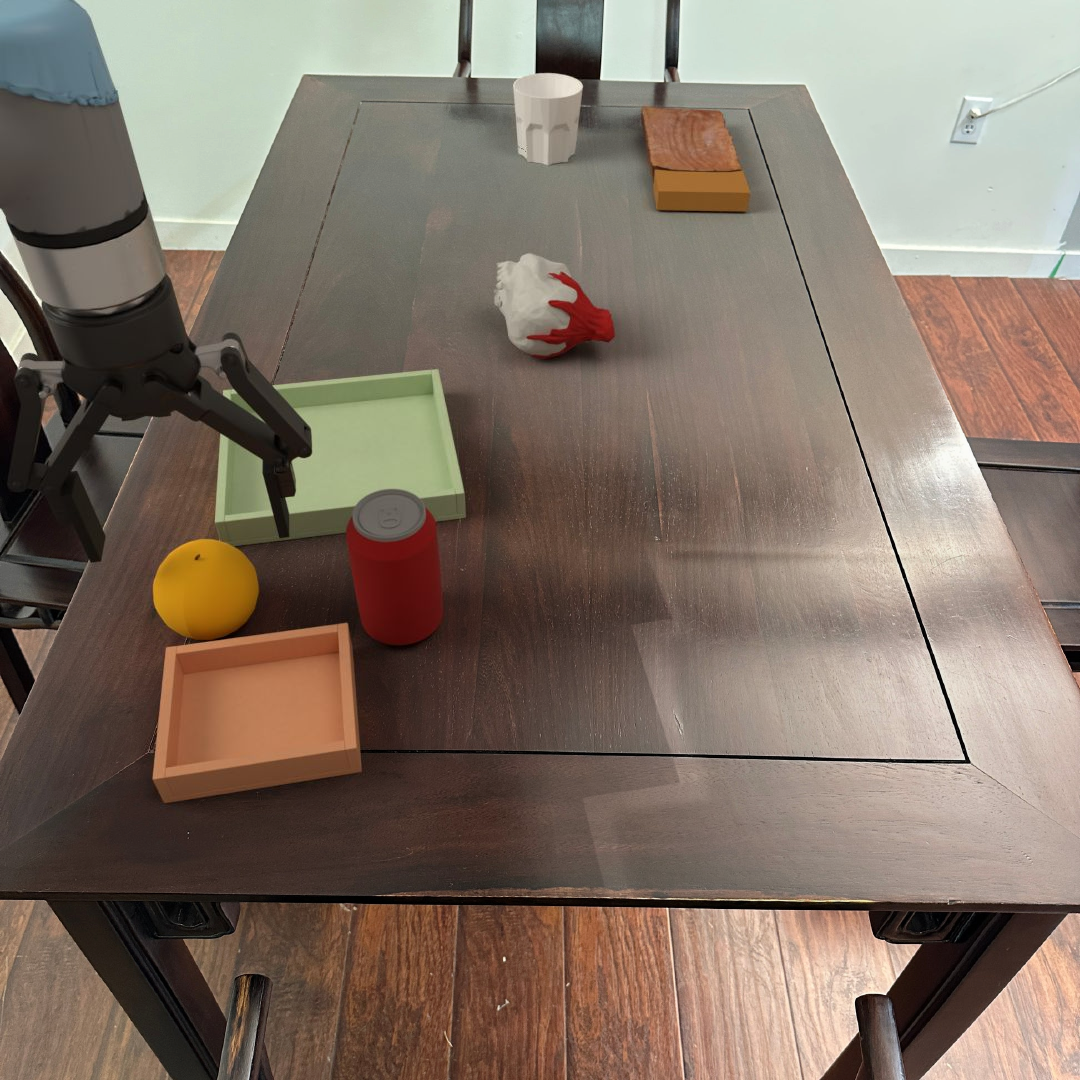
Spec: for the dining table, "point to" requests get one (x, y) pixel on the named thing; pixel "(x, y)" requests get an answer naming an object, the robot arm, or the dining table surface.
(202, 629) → the orange
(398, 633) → the beverage can
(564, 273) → the candle
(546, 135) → the cup
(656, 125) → the wooden board
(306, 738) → the drink tray
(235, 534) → the fruit tray
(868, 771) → the dining table surface
